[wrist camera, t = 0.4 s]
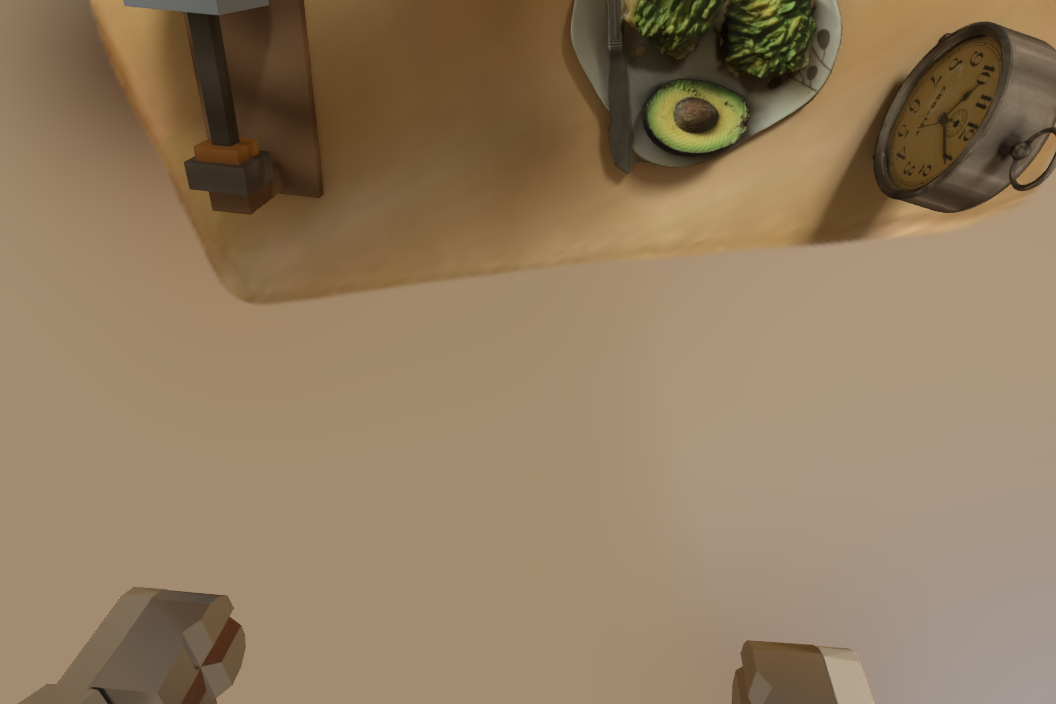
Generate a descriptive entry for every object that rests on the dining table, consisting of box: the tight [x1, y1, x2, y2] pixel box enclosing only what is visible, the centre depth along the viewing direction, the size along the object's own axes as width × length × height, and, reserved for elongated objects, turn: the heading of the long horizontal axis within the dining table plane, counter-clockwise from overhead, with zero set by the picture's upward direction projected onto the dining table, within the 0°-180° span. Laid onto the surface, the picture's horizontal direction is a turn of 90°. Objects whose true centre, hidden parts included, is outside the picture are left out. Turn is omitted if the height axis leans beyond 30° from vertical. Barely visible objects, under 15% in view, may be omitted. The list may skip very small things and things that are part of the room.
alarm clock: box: [873, 22, 1056, 213], centre depth 40 cm, size 11×5×16 cm, turn 164°
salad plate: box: [571, 0, 842, 175], centre depth 44 cm, size 19×18×5 cm
